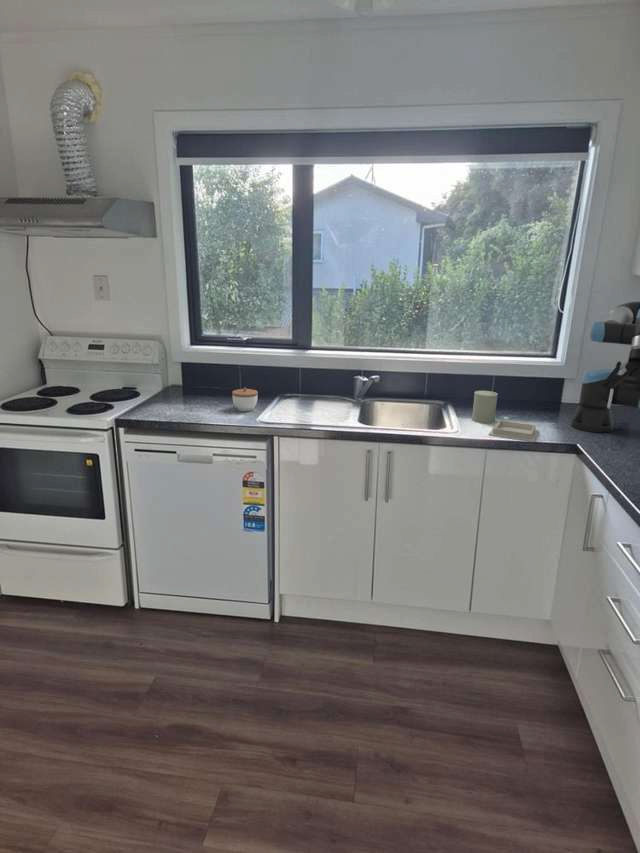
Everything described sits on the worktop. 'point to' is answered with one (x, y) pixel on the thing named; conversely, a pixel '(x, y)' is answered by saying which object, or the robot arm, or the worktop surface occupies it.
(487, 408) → the can
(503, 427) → the square tray
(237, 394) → the lidded jar
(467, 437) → the worktop surface
